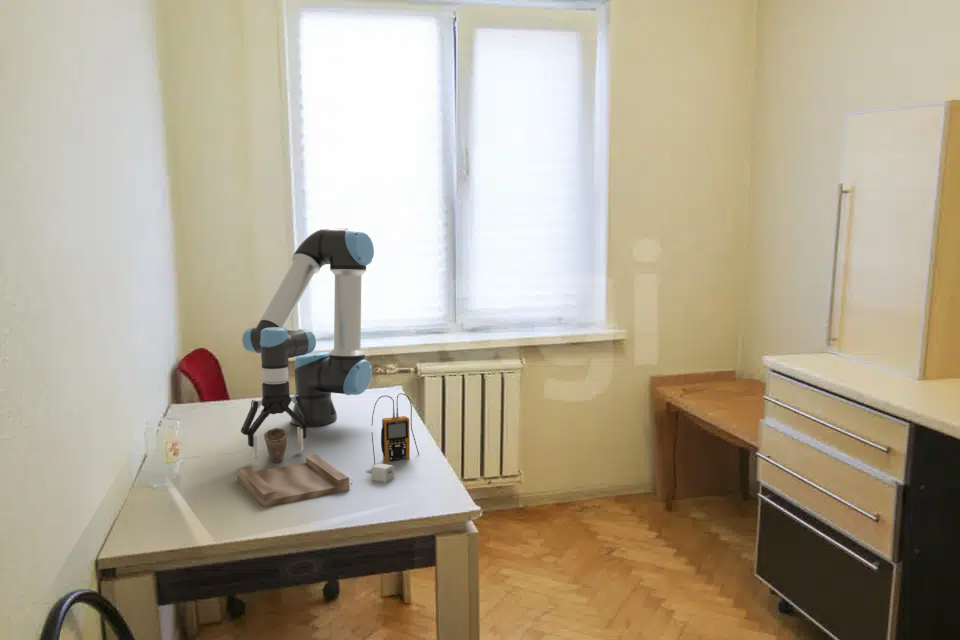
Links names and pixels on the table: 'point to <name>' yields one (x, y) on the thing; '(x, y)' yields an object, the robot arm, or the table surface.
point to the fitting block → (293, 481)
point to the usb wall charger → (382, 472)
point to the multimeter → (395, 436)
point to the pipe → (276, 443)
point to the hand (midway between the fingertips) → (278, 453)
